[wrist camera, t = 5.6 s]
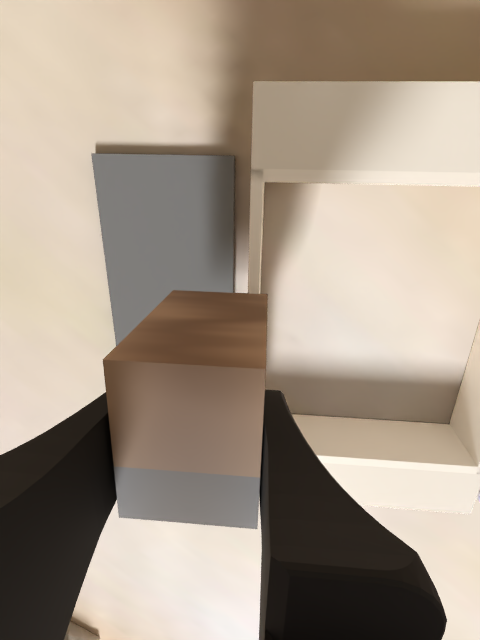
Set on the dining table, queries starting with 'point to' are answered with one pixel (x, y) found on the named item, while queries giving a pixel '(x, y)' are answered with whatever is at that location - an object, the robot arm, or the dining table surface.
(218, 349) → the block
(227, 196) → the mat
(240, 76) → the dining table surface
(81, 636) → the packaged product
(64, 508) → the robot arm
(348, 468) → the carton
